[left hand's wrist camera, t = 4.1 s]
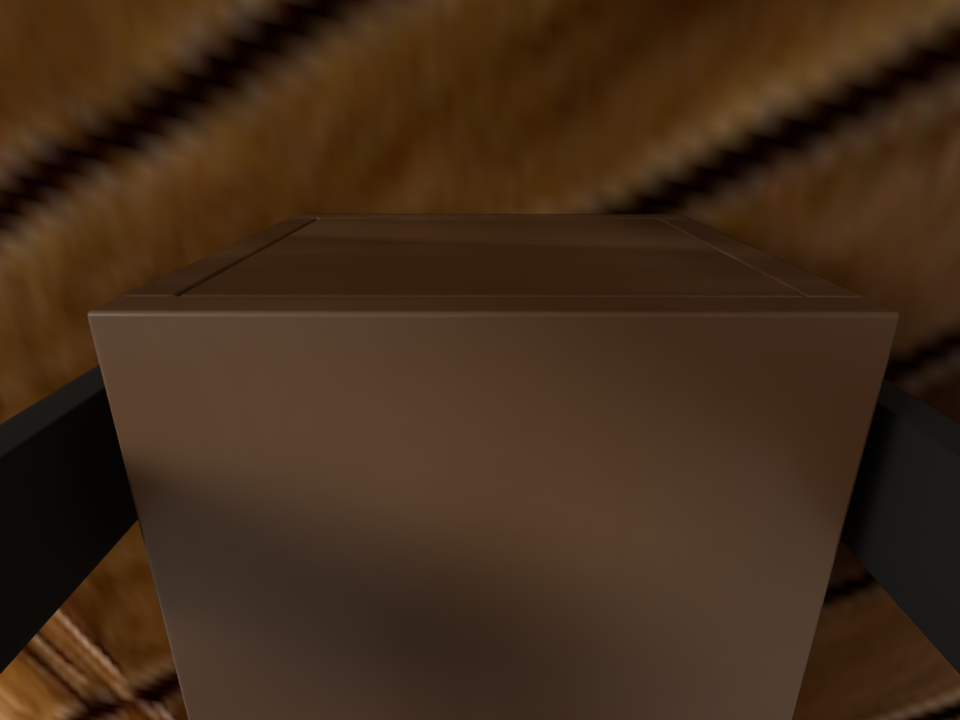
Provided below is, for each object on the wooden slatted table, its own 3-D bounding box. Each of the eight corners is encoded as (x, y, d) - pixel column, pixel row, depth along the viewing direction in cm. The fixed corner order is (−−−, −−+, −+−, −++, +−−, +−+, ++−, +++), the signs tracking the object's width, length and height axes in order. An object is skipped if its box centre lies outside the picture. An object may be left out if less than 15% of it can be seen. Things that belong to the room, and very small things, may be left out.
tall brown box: (623, 676, 24) (712, 1022, 14) (347, 675, 24) (262, 1018, 15) (678, 213, 17) (904, 312, 8) (296, 213, 17) (83, 310, 8)
